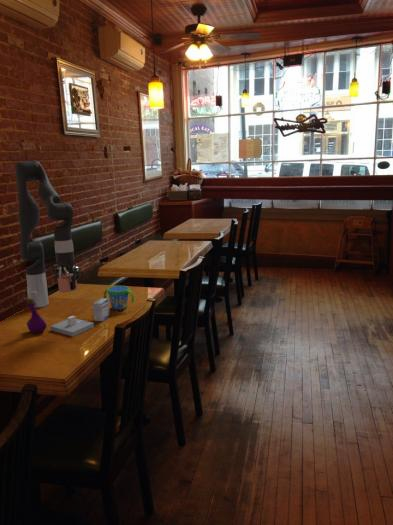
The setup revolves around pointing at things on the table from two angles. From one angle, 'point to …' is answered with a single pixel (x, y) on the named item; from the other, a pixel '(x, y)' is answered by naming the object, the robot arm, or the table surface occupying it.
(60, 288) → the knob
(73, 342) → the table surface
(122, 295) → the snack cup
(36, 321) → the perfume bottle
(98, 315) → the medicine box
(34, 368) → the table surface
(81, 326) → the panel
